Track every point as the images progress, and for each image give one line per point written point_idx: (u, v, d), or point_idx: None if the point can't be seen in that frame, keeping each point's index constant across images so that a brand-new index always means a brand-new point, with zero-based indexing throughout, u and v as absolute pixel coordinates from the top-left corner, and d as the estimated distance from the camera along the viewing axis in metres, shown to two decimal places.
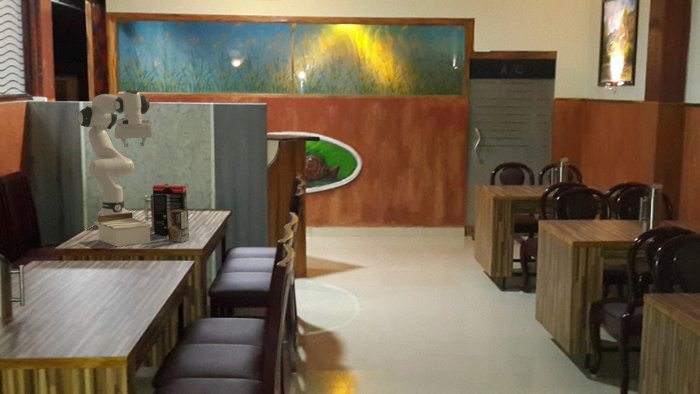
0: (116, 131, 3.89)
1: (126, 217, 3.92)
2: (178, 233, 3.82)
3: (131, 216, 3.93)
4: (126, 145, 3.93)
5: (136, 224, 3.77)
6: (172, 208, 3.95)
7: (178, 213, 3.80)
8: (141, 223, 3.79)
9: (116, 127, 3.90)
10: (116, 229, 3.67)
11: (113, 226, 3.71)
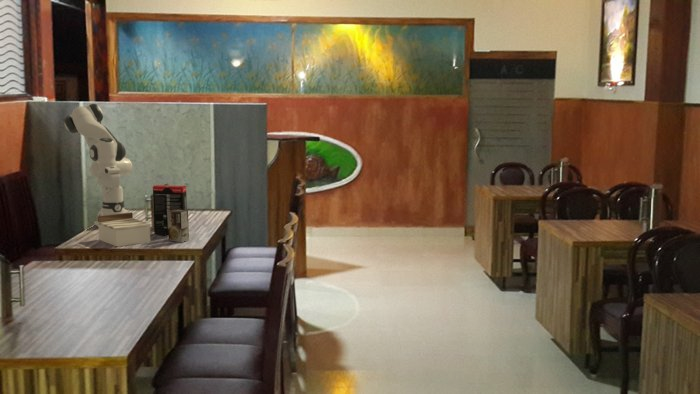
0: (117, 180, 3.83)
1: (126, 217, 3.92)
2: (178, 233, 3.82)
3: (131, 216, 3.93)
4: None
5: (136, 224, 3.77)
6: (172, 208, 3.95)
7: (178, 213, 3.80)
8: (141, 223, 3.79)
9: (115, 176, 3.83)
10: (116, 229, 3.67)
11: (113, 226, 3.71)
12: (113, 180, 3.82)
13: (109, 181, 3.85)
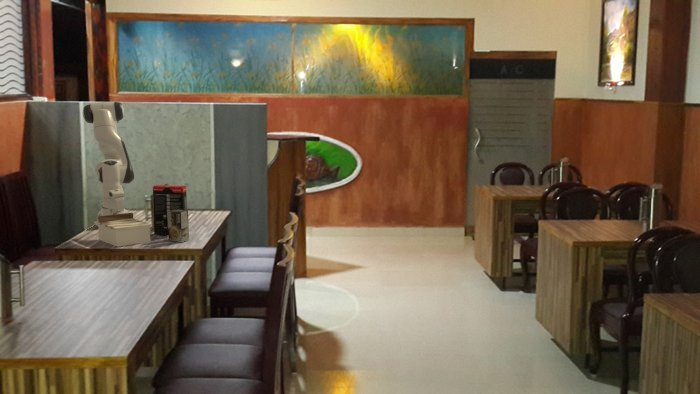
0: (121, 203, 3.81)
1: (127, 217, 3.91)
2: (178, 233, 3.82)
3: (132, 216, 3.93)
4: None
5: (137, 224, 3.76)
6: (172, 208, 3.95)
7: (178, 213, 3.80)
8: (142, 223, 3.79)
9: (119, 200, 3.81)
10: (117, 229, 3.66)
11: (114, 226, 3.71)
12: (117, 203, 3.80)
13: (113, 204, 3.83)
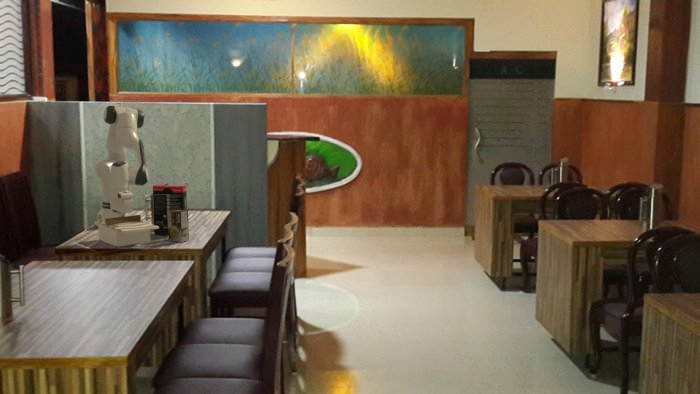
0: (130, 205, 3.75)
1: (134, 220, 3.84)
2: (178, 233, 3.82)
3: (139, 218, 3.86)
4: None
5: (145, 227, 3.69)
6: (172, 208, 3.95)
7: (178, 213, 3.80)
8: (150, 226, 3.72)
9: (128, 201, 3.74)
10: (124, 232, 3.60)
11: (121, 229, 3.64)
12: (126, 205, 3.74)
13: (122, 206, 3.77)
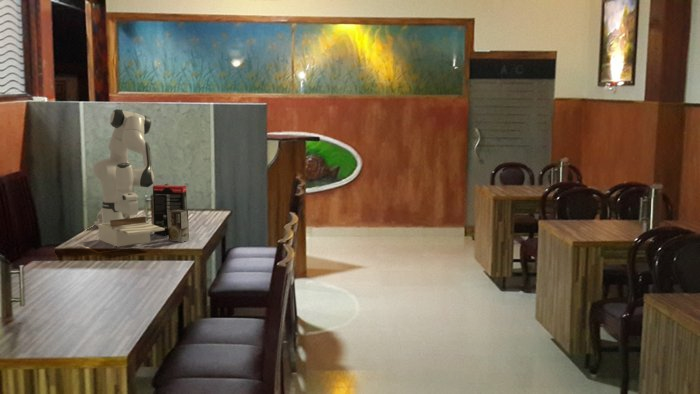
0: (134, 207, 3.70)
1: (139, 221, 3.80)
2: (178, 233, 3.82)
3: (144, 220, 3.82)
4: None
5: (150, 229, 3.65)
6: (172, 208, 3.95)
7: (178, 213, 3.80)
8: (155, 227, 3.68)
9: (132, 203, 3.70)
10: (130, 234, 3.55)
11: (126, 231, 3.59)
12: (131, 207, 3.69)
13: (127, 208, 3.72)
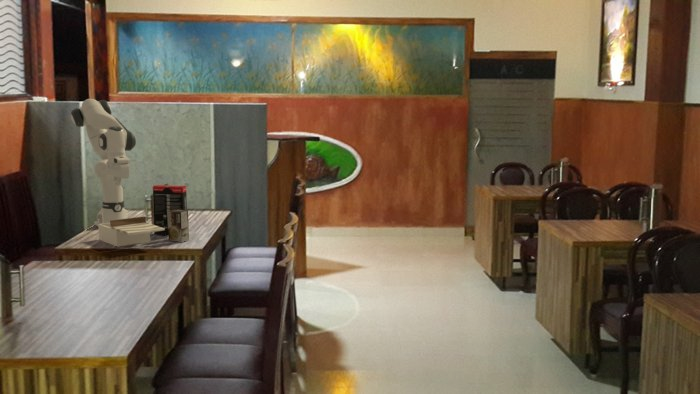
0: (126, 170, 3.72)
1: (139, 221, 3.80)
2: (178, 233, 3.82)
3: (144, 220, 3.82)
4: None
5: (150, 229, 3.65)
6: (172, 208, 3.95)
7: (178, 213, 3.80)
8: (155, 227, 3.68)
9: (124, 166, 3.72)
10: (130, 234, 3.55)
11: (126, 231, 3.59)
12: (122, 170, 3.71)
13: (118, 171, 3.74)
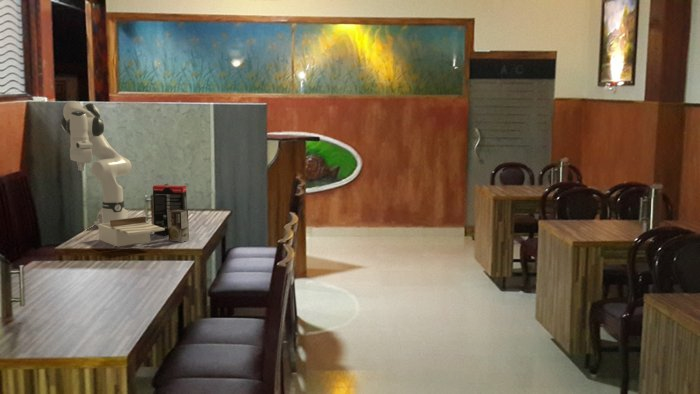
0: (88, 155, 3.70)
1: (139, 221, 3.80)
2: (178, 233, 3.82)
3: (144, 220, 3.82)
4: None
5: (150, 229, 3.65)
6: (172, 208, 3.95)
7: (178, 213, 3.80)
8: (155, 227, 3.68)
9: (86, 151, 3.70)
10: (130, 234, 3.55)
11: (126, 231, 3.59)
12: (85, 155, 3.69)
13: (81, 156, 3.72)
